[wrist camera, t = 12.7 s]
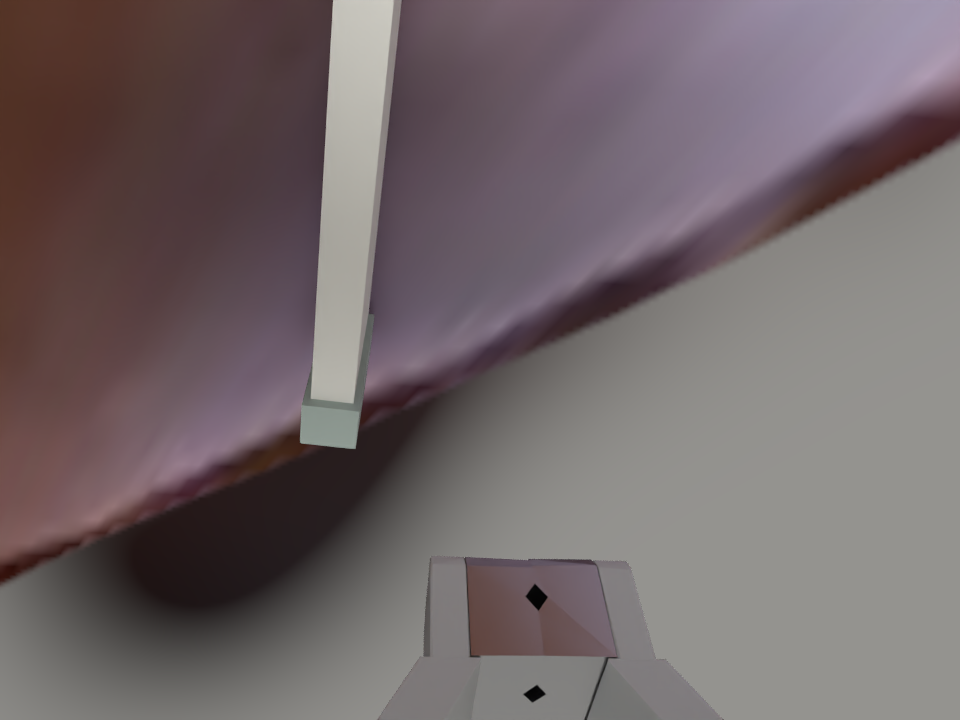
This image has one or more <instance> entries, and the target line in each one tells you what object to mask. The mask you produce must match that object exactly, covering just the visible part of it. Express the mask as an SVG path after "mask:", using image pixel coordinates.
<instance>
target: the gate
mask: <svg viewBox="0 0 960 720" xmlns="http://www.w3.org/2000/svg"><path fill="white" fill-rule="evenodd" d="M401 3H402V0H333V13H332V31H331V48H330V66H329V84H328V102H327V119H326V137H325V155H324V173H323V190H322V208H321V226H320V244H319V262H318V279H317V297H316V315H315V333H314V350H313V363H312V367H311V371H310V375H309V379H308V383H307V387H306V391H305V395H304V398H303V402H302V411H301V432H300V443H304V444H313V445H322V446H332V447H341V448H351V449H355V448H356V441H357V435H358V428H359V422H360V415H361V409H362V402H363V395H364V389H365V382H366V376H367V369H368V362H369V356H370V349H371V341H372V332H373V323H374V314H369V304H370V295H371V285H372V276H373V267H374V257H375V248H376V238H377V229H378V219H379V210H380V201H381V191H382V182H383V172H384V163H385V153H386V144H387V135H388V125H389V116H390V106H391V97H392V87H393V78H394V69H395V59H396V50H397V40H398V31H399V21H400V12H401Z"/></svg>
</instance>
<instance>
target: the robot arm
mask: <svg viewBox="0 0 960 720" xmlns="http://www.w3.org/2000/svg"><path fill="white" fill-rule="evenodd" d="M426 596H427V597H426V607H425V608H426V609H425V624H424V653H423V654H424V655H423V657H420V658H419V659H418V661H417V662H416V663H415V665H414V667H413V668H412V669H411V671H410V672H409V674H408V675H407V677H406V678H405V680H404V681H403V682H402V684H401V685H400V687H399V688H398V690H397V691H396V693H395V694H394V696H393V697H392V699H391V700H390V701H389V703H388V704H387V706H386V707H385V709H384V710H383V712H382V713H381V715H380V716H379V718H378V719H377V720H723V719H722V718H721V717H720V715H718V713H717V712H716V711H715V710H714V709H713V708H712V707H711V706H710V705H709V704H708V703H707V702H706V701H705V700H704V699H703V698H702V697H701V696H700V695H699V694H698V693H697V691H695V689H694V688H693V687H692V686H691V685H690V684H689V683H688V682H687V681H686V680H685V679H684V678H683V677H682V676H681V675H680V674H679V673H678V672H677V671H676V670H675V669H674V667H673V666H672V665H671V664H670V663H669V662H668V661H667V660H665V659H656V657H655V654H654V650H653V647H652V643H651V639H650V636H649V632H648V629H647V625H646V622H645V617H644V614H643V610H642V607H641V603H640V599H639V596H638V592H637V588H636V585H635V581H634V578H633V574H632V570H631V567H630V566H629V564H628V563H627V562H626V561H592V560H575V559H528V560H512V559H492V558H471V557H465V558H464V557H445V556H444V557H442V556H431V558H430V564H429V575H428V586H427V595H426Z"/></svg>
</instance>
